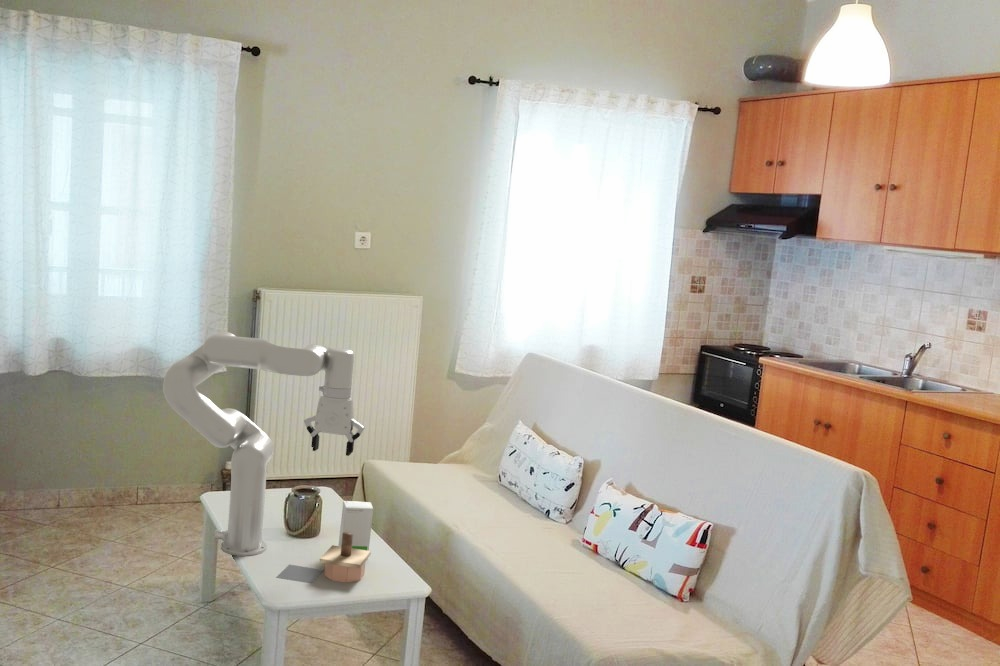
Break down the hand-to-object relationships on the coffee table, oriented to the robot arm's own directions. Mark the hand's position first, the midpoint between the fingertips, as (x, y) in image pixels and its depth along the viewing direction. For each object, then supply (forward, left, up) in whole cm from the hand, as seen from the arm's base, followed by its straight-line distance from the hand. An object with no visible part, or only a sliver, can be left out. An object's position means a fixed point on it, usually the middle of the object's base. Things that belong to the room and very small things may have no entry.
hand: (331, 452), depth 269 cm
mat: (-1, -16, -30) cm, 34 cm away
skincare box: (+8, +3, -31) cm, 32 cm away
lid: (+10, -12, -25) cm, 30 cm away
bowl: (+10, -12, -30) cm, 34 cm away
